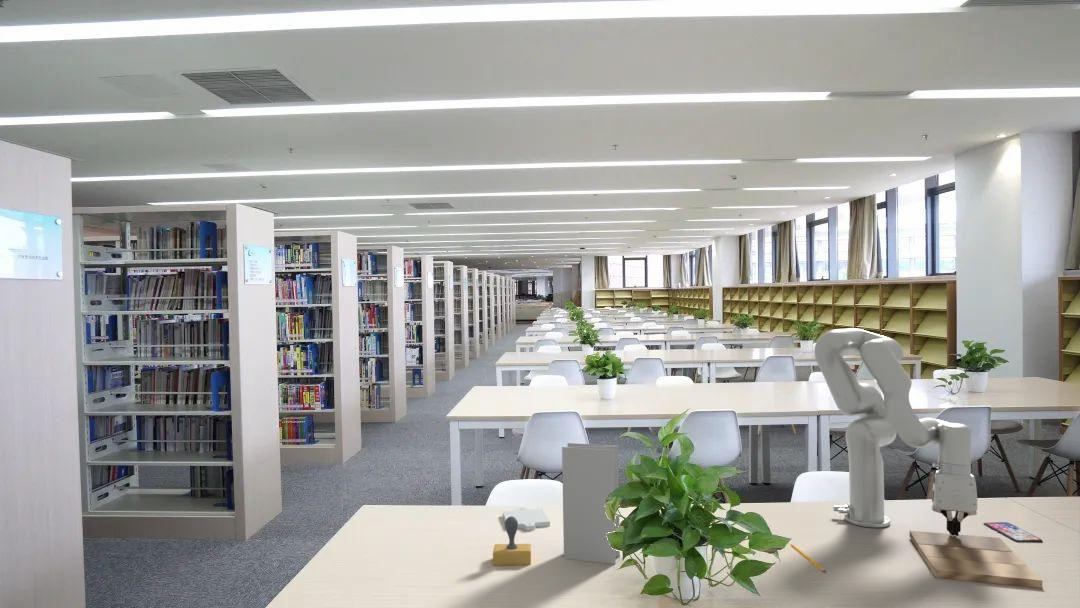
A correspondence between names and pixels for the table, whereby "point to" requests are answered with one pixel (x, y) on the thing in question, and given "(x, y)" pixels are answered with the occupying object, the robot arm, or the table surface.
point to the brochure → (588, 501)
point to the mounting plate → (528, 518)
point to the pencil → (809, 559)
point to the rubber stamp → (512, 548)
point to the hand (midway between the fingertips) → (953, 533)
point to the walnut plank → (958, 541)
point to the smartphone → (1012, 532)
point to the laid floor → (978, 565)
